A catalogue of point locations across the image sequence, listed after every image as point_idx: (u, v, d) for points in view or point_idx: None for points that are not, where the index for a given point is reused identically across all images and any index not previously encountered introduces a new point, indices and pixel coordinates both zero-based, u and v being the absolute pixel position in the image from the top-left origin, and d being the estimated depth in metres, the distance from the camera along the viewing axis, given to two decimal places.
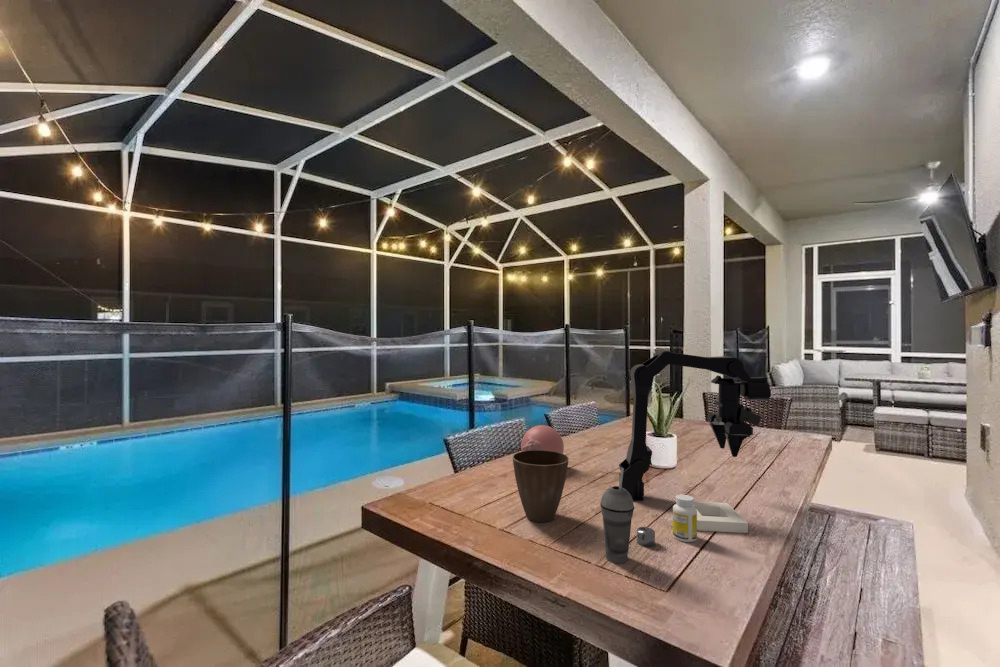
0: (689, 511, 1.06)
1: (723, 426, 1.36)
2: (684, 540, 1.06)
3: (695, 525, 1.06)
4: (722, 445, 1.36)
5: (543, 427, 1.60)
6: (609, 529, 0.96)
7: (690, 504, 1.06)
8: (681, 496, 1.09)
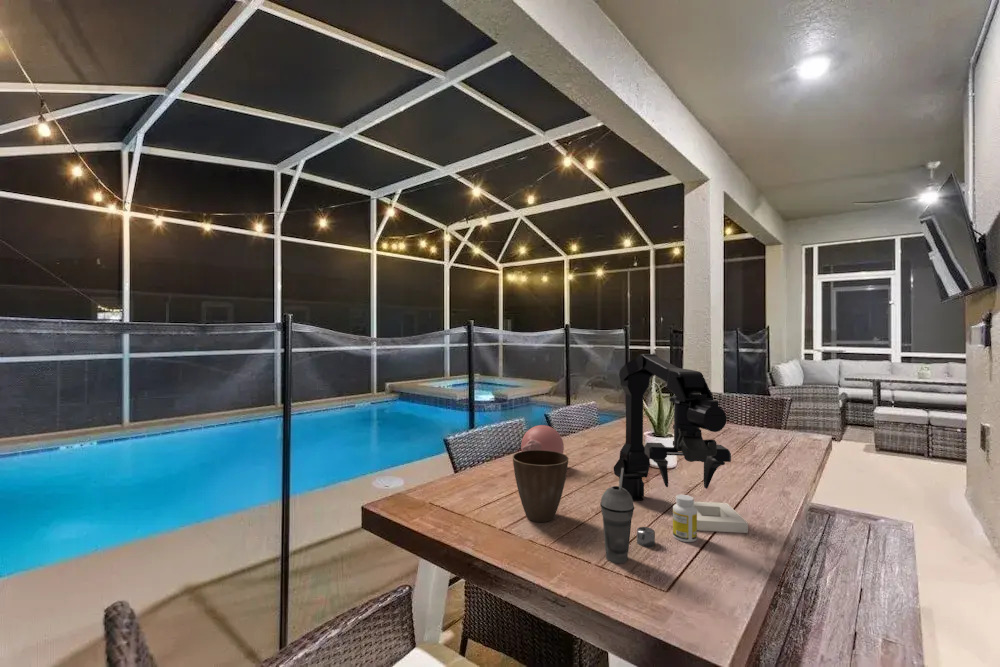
0: (689, 511, 1.06)
1: (708, 461, 1.07)
2: (684, 540, 1.06)
3: (695, 525, 1.06)
4: (704, 484, 1.08)
5: (543, 427, 1.60)
6: (609, 529, 0.96)
7: (690, 504, 1.06)
8: (681, 496, 1.09)
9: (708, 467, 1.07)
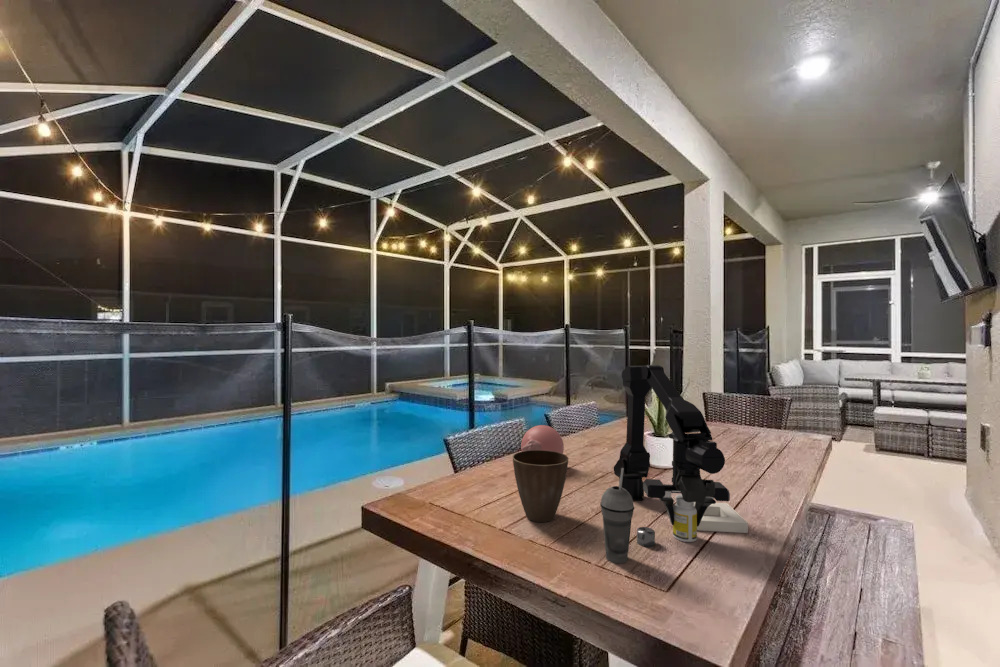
0: (689, 511, 1.06)
1: None
2: (684, 540, 1.06)
3: (695, 525, 1.06)
4: None
5: (543, 427, 1.60)
6: (609, 529, 0.96)
7: (690, 504, 1.06)
8: (681, 496, 1.09)
9: (699, 505, 1.07)
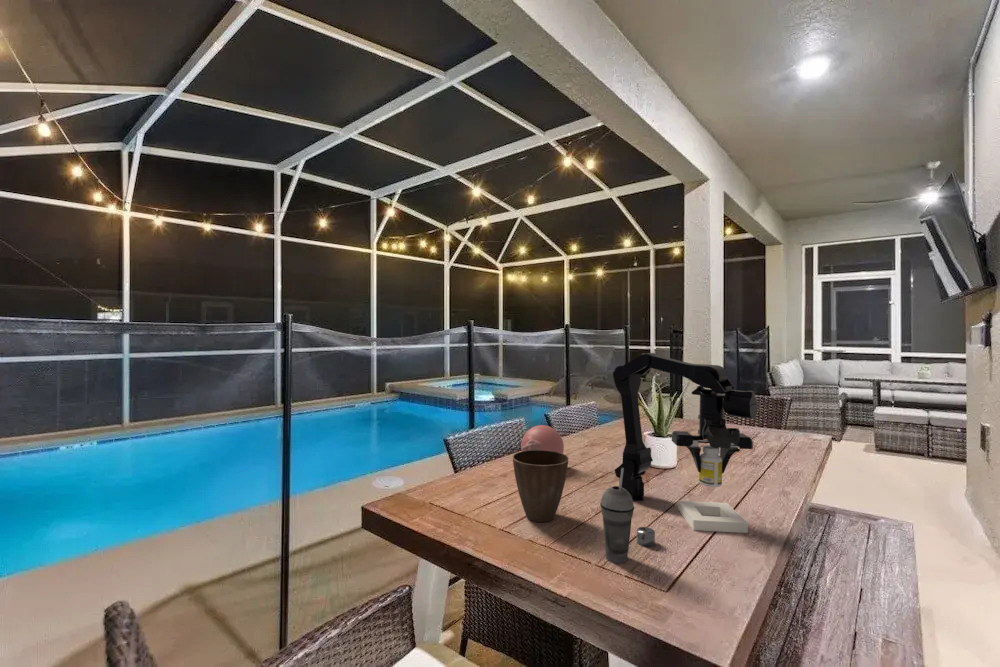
0: (715, 458, 1.15)
1: (724, 448, 1.17)
2: (710, 485, 1.15)
3: (720, 472, 1.16)
4: None
5: (543, 427, 1.60)
6: (609, 529, 0.96)
7: (716, 452, 1.16)
8: (708, 446, 1.18)
9: (724, 453, 1.17)
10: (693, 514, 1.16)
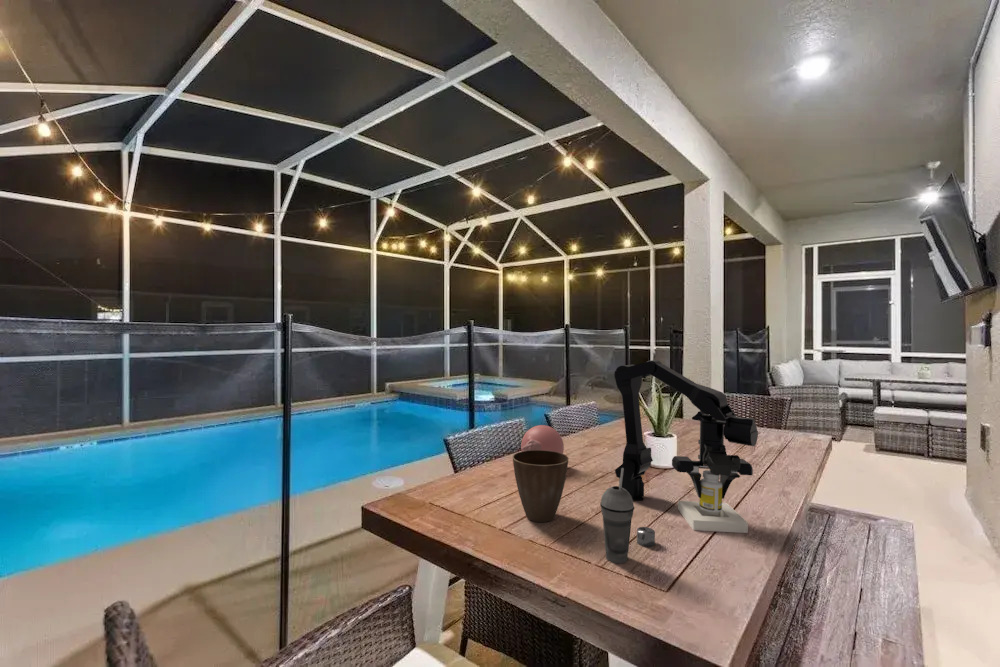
0: (715, 484, 1.16)
1: None
2: (710, 511, 1.16)
3: (721, 497, 1.16)
4: None
5: (543, 427, 1.60)
6: (609, 529, 0.96)
7: (716, 478, 1.16)
8: (708, 471, 1.19)
9: (724, 479, 1.17)
10: (693, 514, 1.16)
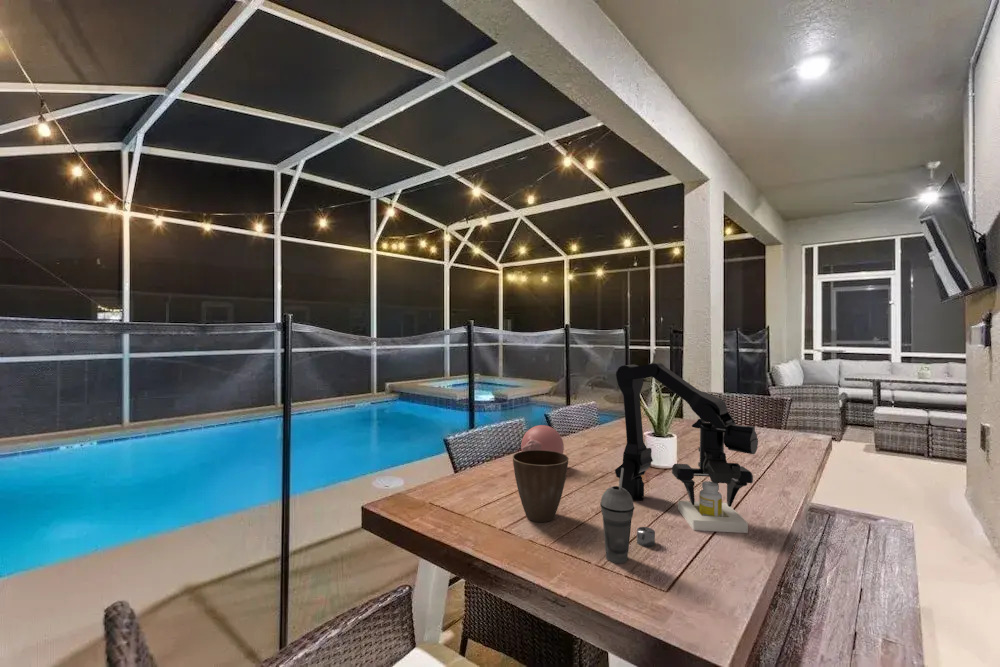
0: (715, 496, 1.16)
1: (732, 482, 1.17)
2: None
3: (720, 509, 1.16)
4: (728, 502, 1.18)
5: (543, 427, 1.60)
6: (609, 529, 0.96)
7: (716, 489, 1.16)
8: (707, 482, 1.19)
9: (731, 487, 1.17)
10: (693, 514, 1.16)
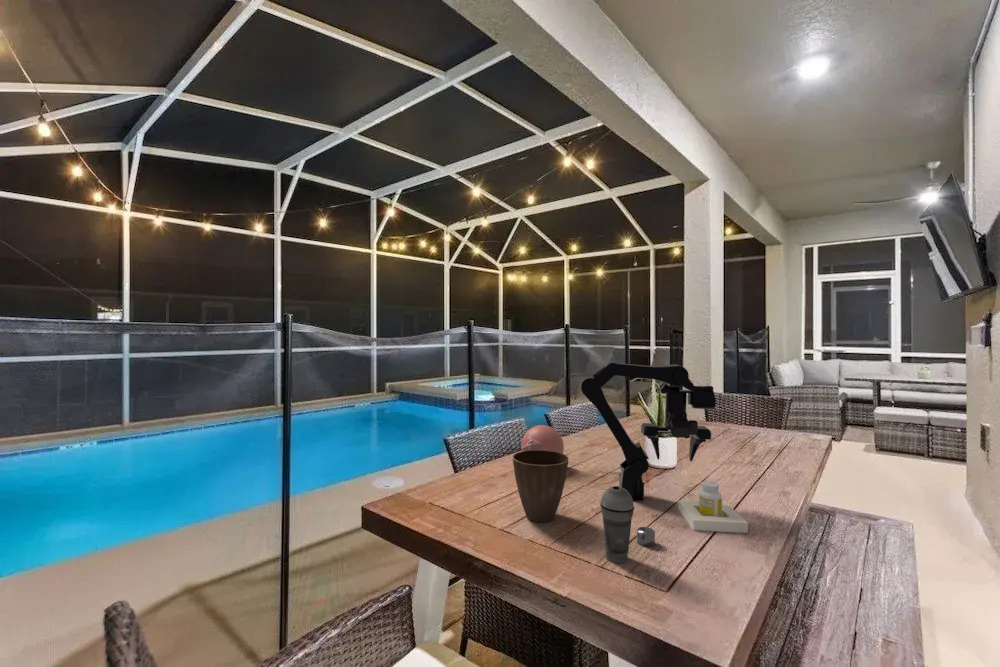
0: (714, 496, 1.16)
1: (693, 439, 1.31)
2: None
3: (720, 509, 1.16)
4: (689, 457, 1.32)
5: (543, 427, 1.60)
6: (609, 529, 0.96)
7: (716, 490, 1.16)
8: (707, 482, 1.19)
9: (693, 444, 1.31)
10: (693, 514, 1.16)
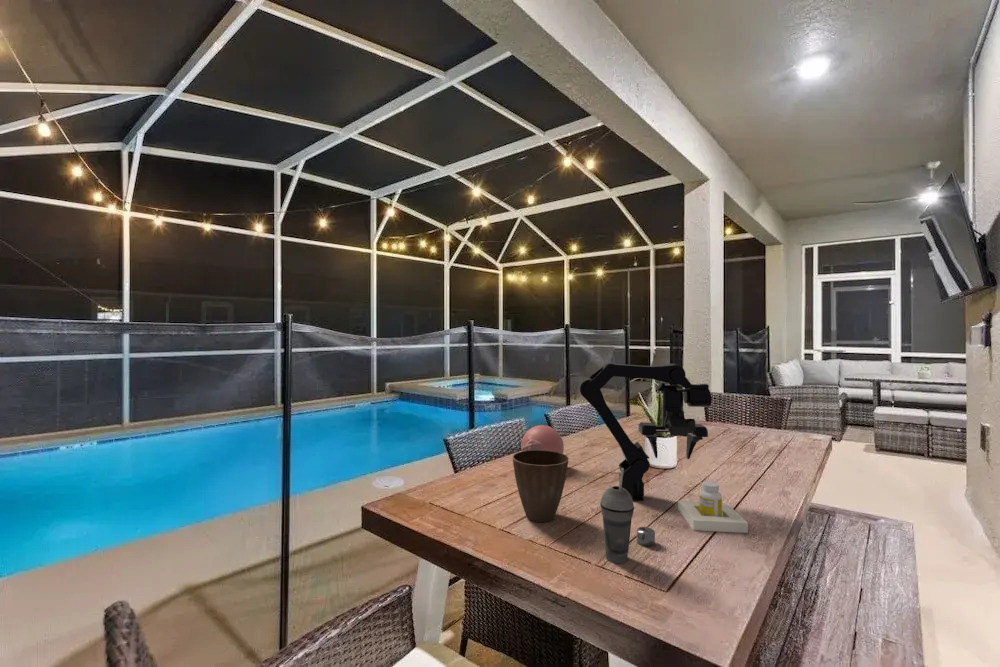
0: (715, 496, 1.16)
1: (690, 437, 1.33)
2: None
3: (720, 509, 1.16)
4: (687, 455, 1.33)
5: (543, 427, 1.60)
6: (609, 529, 0.96)
7: (716, 490, 1.16)
8: (707, 482, 1.19)
9: (690, 442, 1.32)
10: (693, 514, 1.16)
